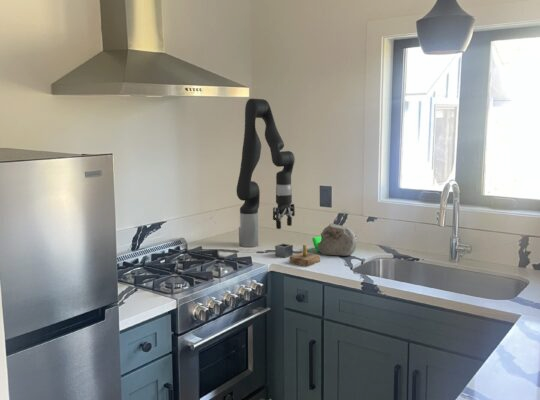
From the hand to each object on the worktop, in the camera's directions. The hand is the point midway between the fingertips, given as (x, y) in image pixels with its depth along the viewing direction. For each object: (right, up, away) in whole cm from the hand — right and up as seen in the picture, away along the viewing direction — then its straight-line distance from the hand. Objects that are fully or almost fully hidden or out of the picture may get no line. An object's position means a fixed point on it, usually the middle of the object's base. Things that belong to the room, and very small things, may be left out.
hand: (284, 227), depth 260 cm
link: (0, -14, +2) cm, 14 cm away
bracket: (+23, -12, +17) cm, 31 cm away
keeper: (+9, -16, -10) cm, 21 cm away
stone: (+26, -14, +3) cm, 29 cm away
